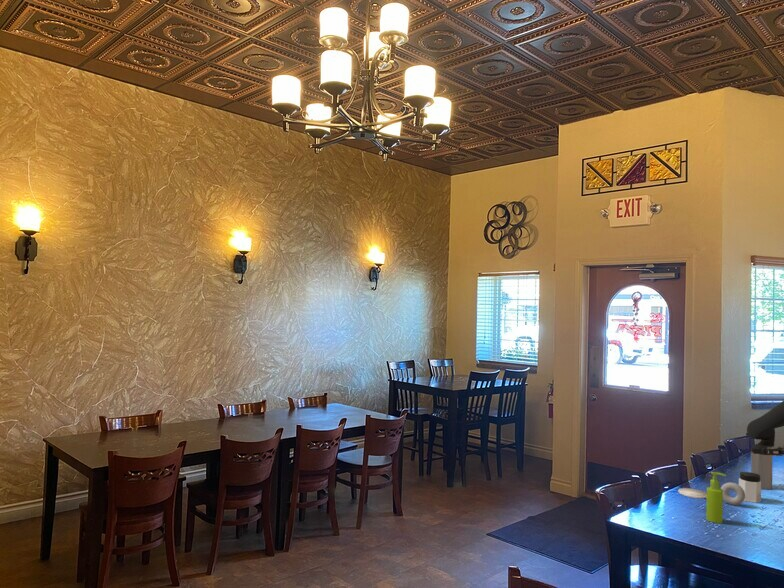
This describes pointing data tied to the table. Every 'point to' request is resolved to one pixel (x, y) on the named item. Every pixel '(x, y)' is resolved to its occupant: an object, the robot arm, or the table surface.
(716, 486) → the soap dispenser
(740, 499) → the donut
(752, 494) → the jar
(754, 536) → the table surface
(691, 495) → the plate
